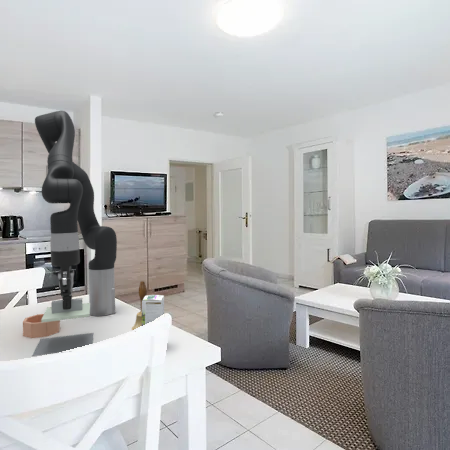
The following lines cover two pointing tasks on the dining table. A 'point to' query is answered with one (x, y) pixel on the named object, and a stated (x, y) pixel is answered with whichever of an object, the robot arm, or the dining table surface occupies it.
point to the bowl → (39, 327)
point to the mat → (62, 343)
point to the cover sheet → (66, 311)
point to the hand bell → (141, 294)
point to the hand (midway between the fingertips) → (67, 307)
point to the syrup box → (152, 308)
